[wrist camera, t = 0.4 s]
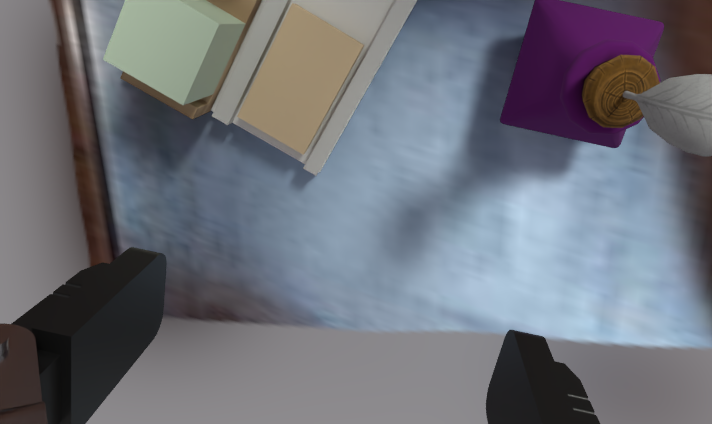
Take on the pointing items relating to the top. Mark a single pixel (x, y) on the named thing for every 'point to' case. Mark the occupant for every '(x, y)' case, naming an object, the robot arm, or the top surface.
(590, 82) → the perfume bottle
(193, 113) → the tan slider with post
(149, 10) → the block
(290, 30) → the lane board
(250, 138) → the top surface
